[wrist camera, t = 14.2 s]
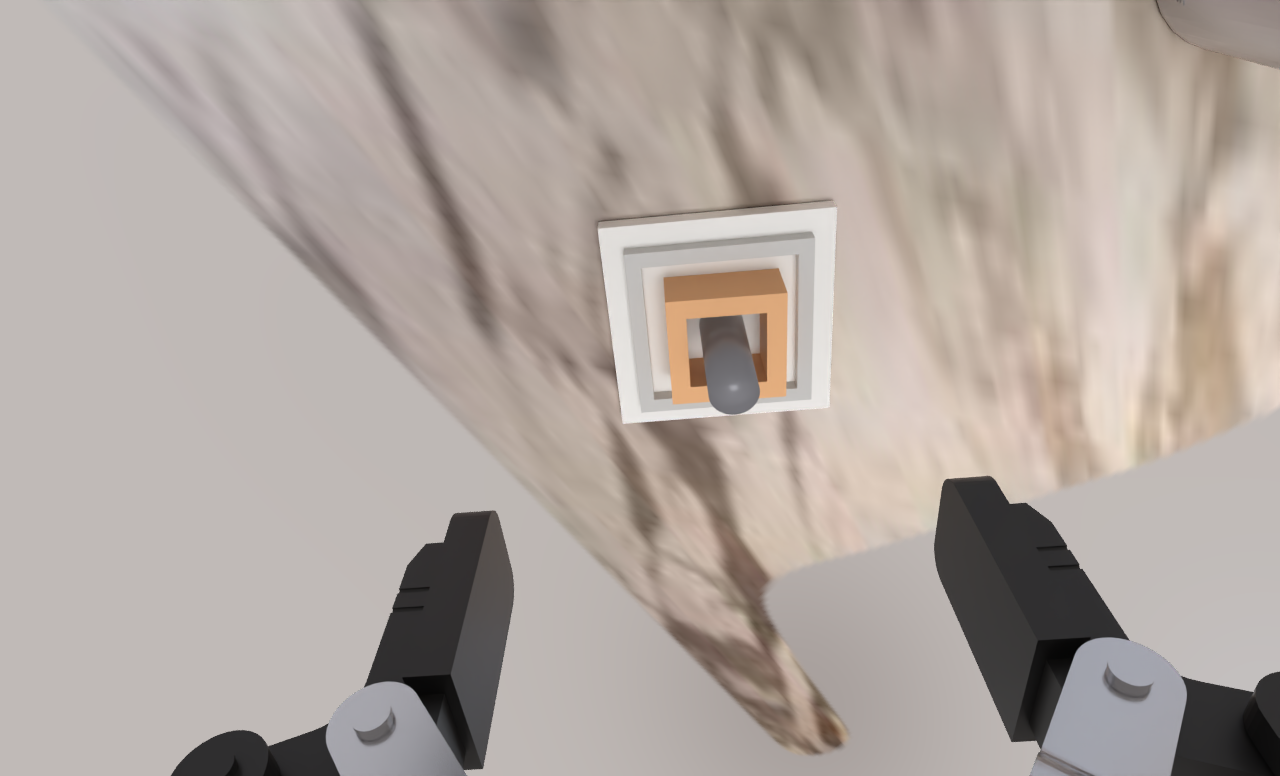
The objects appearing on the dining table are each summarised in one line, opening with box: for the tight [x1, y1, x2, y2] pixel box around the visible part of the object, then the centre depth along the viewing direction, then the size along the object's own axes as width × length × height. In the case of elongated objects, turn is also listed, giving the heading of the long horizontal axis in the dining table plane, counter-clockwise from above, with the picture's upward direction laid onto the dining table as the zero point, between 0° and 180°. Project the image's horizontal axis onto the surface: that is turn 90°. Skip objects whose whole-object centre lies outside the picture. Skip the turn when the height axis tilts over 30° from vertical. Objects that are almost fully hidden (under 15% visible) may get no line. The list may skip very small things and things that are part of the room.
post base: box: [598, 200, 837, 424], centre depth 40 cm, size 12×12×8 cm
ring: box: [663, 268, 788, 404], centre depth 41 cm, size 6×6×3 cm
